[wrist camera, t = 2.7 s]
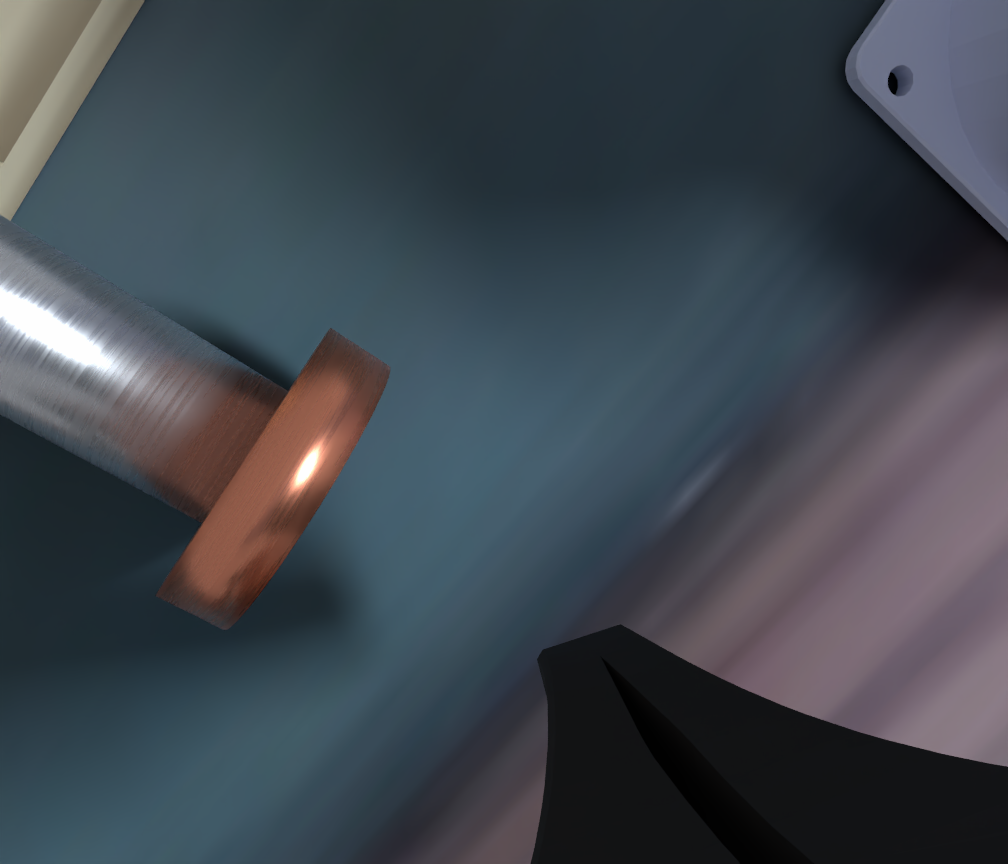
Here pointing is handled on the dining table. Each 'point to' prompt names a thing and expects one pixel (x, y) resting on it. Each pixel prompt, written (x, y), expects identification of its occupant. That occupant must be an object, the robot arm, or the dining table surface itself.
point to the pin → (179, 417)
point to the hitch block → (48, 78)
